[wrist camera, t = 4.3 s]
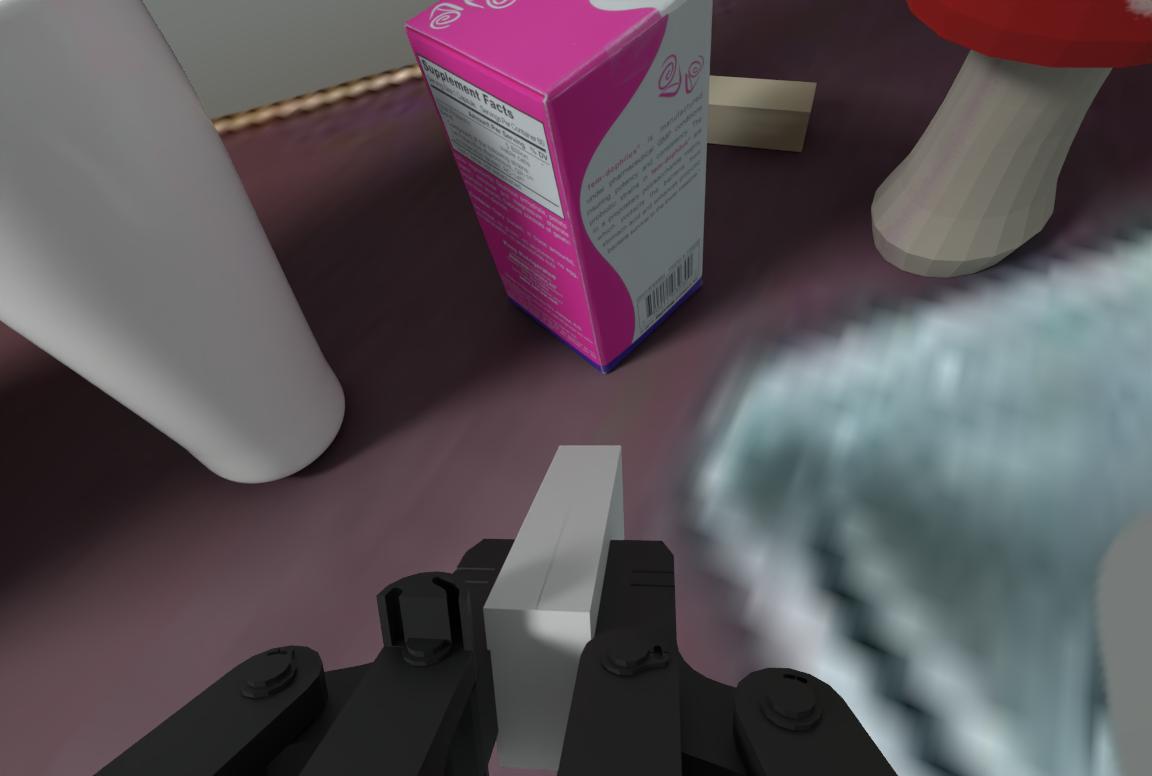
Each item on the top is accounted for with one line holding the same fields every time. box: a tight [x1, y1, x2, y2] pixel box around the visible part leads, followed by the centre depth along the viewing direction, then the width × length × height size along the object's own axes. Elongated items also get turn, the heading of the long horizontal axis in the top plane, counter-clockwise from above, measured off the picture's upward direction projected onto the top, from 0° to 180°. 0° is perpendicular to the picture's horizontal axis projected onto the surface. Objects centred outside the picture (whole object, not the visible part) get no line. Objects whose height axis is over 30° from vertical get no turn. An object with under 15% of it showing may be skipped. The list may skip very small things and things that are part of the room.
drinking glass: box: [0, 0, 345, 484], centre depth 17 cm, size 7×7×15 cm
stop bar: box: [707, 76, 817, 152], centre depth 29 cm, size 15×2×2 cm, turn 72°
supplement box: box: [405, 0, 713, 374], centre depth 20 cm, size 6×6×12 cm
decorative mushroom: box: [871, 0, 1152, 278], centre depth 17 cm, size 10×9×15 cm
